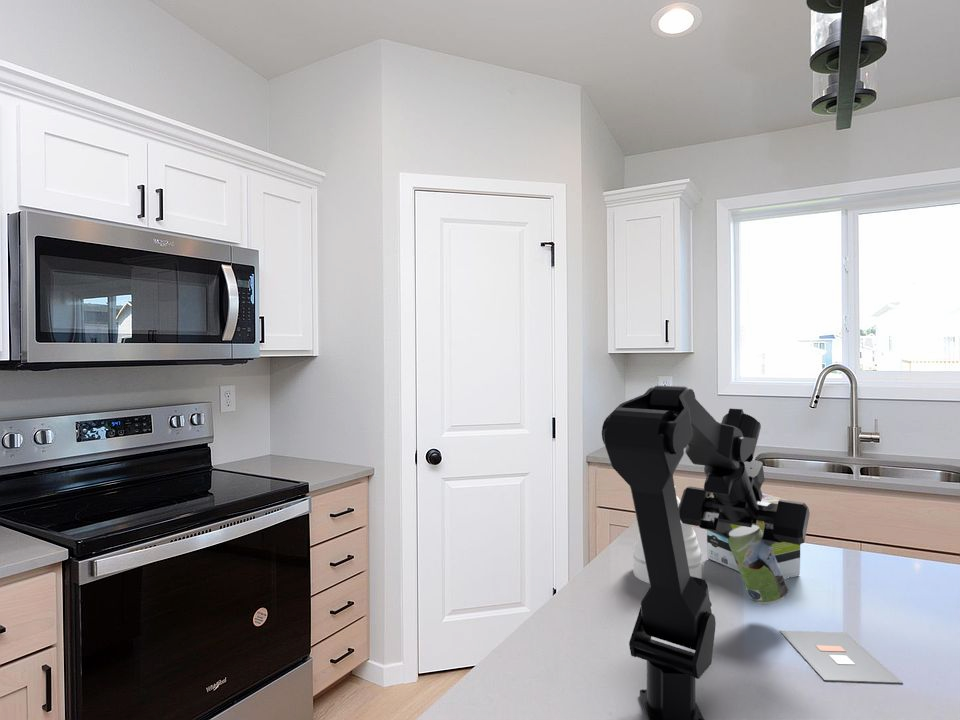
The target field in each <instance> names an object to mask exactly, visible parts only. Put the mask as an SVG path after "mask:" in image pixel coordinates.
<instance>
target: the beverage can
mask: <svg viewBox="0 0 960 720" xmlns="http://www.w3.org/2000/svg"><path fill="white" fill-rule="evenodd" d="M763 533H764V531H763V530H762V529H760V527H759V526H758V525H752V527H745V526H740V527H737V528H735V529H733V530H731V531H730V532H729V540H728V543H729V546H730V549H731V551H732V554H733V556H734V559H735V561H736V564H737V566H738V569H739V571H740V572H739V571H738V572H739V574H740V576H741V579H742V581H743V582H742V583H743V584H744V586H745V589H746V591H747V594H748V597H749V599H750V600H751V601H753V602H756V603H758V604H762V605H768V604H769V605H770V604H775V603H777V602H781V601H782V600H783V599H784V598H785V596H786V595H787V594H788V592H789V587H788V584H787V583H786V581H785V580H786V579H784V578H783V575H782V573H781V570H780V567H779V565H778V562H777V560H776V557H775V555H774V552H773V550H772V547H770V546H769V545H766V544H765V543H764V541H763V539H762V537H763Z"/></svg>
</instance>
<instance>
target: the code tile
mask: <svg viewBox="0 0 960 720" xmlns="http://www.w3.org/2000/svg"><path fill="white" fill-rule="evenodd" d="M779 633H781V634H782V637H784V638H785V640H787V641H788V642H789V643H790V645H791V646H792V647H793V648H794V649H795V650H796V652H798V653H799V654H800V656H801V657H802V658H803V659H804V660H805V661H806V662H807V664H808V665H809V666H811V668H812V669H813V670H814V671H815V672H816V673H817V675H818V676H819V677H820V678H821V679H822V680H823V681H824V682H846V683H872V684H873V683H875V684H902V685H903V684H904V682H903V681H902V680H901V679H900V678H899V677H897V676H896V675H895V674H894V673H893V672H892V671H891V670H890V669H888V668H887V667H886V666H885V665H884V664H882V663H881V662H880V661H879V660H878V659H877V658H876V657H875V656H873V655H872V654H871V653H870V652H869V651H868V650H866V648H864V647H863V646H862V645H861V644H860V643H858V642H857V641H856V640H855V639H854V638H853V637H852V636H851V635H850V634H848V632H840V631H839V632H838V631H837V632H836V631H835V632H834V631H809V630H808V631H804V630H803V631H802V630H779Z"/></svg>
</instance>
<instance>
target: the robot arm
mask: <svg viewBox="0 0 960 720" xmlns="http://www.w3.org/2000/svg"><path fill="white" fill-rule="evenodd" d="M761 426H762V425H761V422H760V421H758V420H757V419H756V418H755V417H753V416H751V415H749V414H747V413H744V410H743V409H742V408H729V409H728V413H725V415H724V416H723V417H722V420H721V422H719V421H717V420H716V419H715V418H714V417H713V416H712V415H711V414H710V412H709V411H707V409H706V408H705V407H704V406H703V405H702V404H701V403H700V402H699V401H698V400H697V397H696V395H695V392H694V389H692V388H688V387H687V386H681V385H679V386H678V385H677V386H675V385H655V386H654V387H653V386H652V387H649V388H648V389H647V390H646V391H645V393H643V394H642V395H639V396H637V397H634V398H631V399H629V400H626V401H624V402H622V403H620V404H619V405H618V406H617V407H616V408H614V409H613V410H612V412H611V413H609V415H607V416H606V418H605V419H604V421H603V424H602V428H601V439H602V441H603V445H604V447H605V451H606V453H607V456H608V459H609V462H610V466H611V467H612V468H613V470H615V472H616V473H617V474H618V475H619V476H620V477H621V478H622V479H623V480H624V481H625V483H627V484H628V485H629V489H630V492H631V497H632V502H633V507H634V512H635V517H636V521H637V522H636V523H637V527H638V534H639V533H640V538H641V543H642V548H643V553H644V558H645V563H646V568H647V573H648V578H649V583H650V584H649V583H648V584H649V587H648V589H647V591H646V592H645V594H644V595H643V597H642V599H641V600H640V607H639V611H638V615H637V618H636V621H635V623H634V627H633V629H632V634H631V636H630V639H629V642H628V645H629V651H630V656H631V657H633V658H639V659H642V660H644V661H646V689H640V690H639V697H640V701H641V704H642V705H643V709H644V712H645V716H646V719H647V720H705V718H704V716H703V714H702V712H701V710H700V708H699V705H698V704H697V701H696V679H697V680H699V679H700V678H701V676H703V674H704V673H705V672H706V670H708V668H709V667H710V666H711V664H712V663H713V661H712V660H713V651H714V644H715V634H716V626H717V625H716V622H717V621H716V617H715V615H714V614H713V613H712V608H711V607H712V602H711V600H710V593H709V592H710V590H709V585H708V583H707V581H706V580H705V579H704V578H702V579H701V578H696V577H692V576H690V573H689V567H688V561H687V556H686V550H685V544H684V538H683V533H682V527H681V522H682V523H683V524H689V525H692V526H694V527H695V526H696V527H699V528H700V529H702V530H703V529H704V530H706V531H707V530H708V531H711V532H713V533H716V534H718V535H720V536H722V537H724V538H727V539H729V532H730V531H731V530H733V529H732V527H731V525H730V524H734V525H740V526H745V527H752V525H756V523H757V520H758V521H764V525H765V528H764V533H763V537H762V539H763V541H764V543H765V544H766V545H769V546H770V547H771V546H772V544H774V543H776V542H777V543H782V542H786V543H792V544H797V545H800V546H801V545H802V544H804V543H805V542H806V535H807V531H808V523H809V520H810V509H809V507H808V506H807V504H806V503H805V502H800V501H794V500H791V501H787V500H788V499H787V500H779V501H778V504H774V503H771V504H769V505H768V506H762V505H758V504H757V502H758V501H759V502H761V500H762V496H763V495H762V493H763V492H762V486H763V483H764V482H765V471H764V465H763V462H762V461H760V460H755V459H754V456H755V452H756V448H757V443H758V440H759V436H760V433H761V429H762V427H761ZM684 449H685V450H684ZM684 452H685V455H687V457H688V459H689V460H690V462H691V463H692V464H693V465H697V466H704V468H703V471H704V475H705V481H704V484H703V487H696V486H688V487H686V488H685V489H684V490H683V491H682V495H681V498H680V504H679V507H678V504H677V498H676V496H677V494H676V488H675V486H676V485H675V482H674V473H675V471H676V469H677V468H678V467H679V466H678V465H679V464H680V462H681V460H682V458H683V457H684ZM711 493H713V495H714V497H709V496H710V494H711ZM707 497H708V498H707ZM680 520H681V521H680ZM652 638H655V639H652ZM656 639H659V640H662V641H665V642H668V643H671V644H674V645H677V646H680V647H684V648H687V649H690V650H692V651H694V652H692V651H690V650H686V649H683V648H680V647H677V646H674V645H671V644H667V643H664V642H662V641H659V640H656Z"/></svg>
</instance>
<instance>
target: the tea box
mask: <svg viewBox="0 0 960 720" xmlns="http://www.w3.org/2000/svg"><path fill="white" fill-rule="evenodd" d="M762 495H763V496H762V500H761V502H759V501H758V502H757V504H758V505H762V506H768V505H769V504H771V503H774V504H778V501H779V500H787V501H792V500H790V499H786V498H784V497H783V498H782V497H779V496H775V495H771V494H768V493H766V492H765V493H764V492H762ZM709 497H714V495H713V493H711V494H710V496H709ZM707 498H708V497H707ZM730 525H731V527H732V529H735V528H737V527H740V525H734V524H730ZM756 525H758V526H759V527H760V529H762V530H763V531H764V528H765V525H764V521H758V520H757V523H756ZM728 540H729V539H727V538H724V537H722V536H720V535H718V534H716V533H713V532H711V531H708V530H706V558H707V560H709V561H710V560H711V561H714V562H716V563H719V564H721V565H724V566H725V567H727V568H729V569H732V570H734V571H737V572H739V573H740V571H739V569H738V566H737V564H736V561H735V559H734V556H733V554H732V551H731V549H730V546H729V543H728ZM771 547H772V550H773V552H774V555H775V557H776V560H777V562H778V565H779V567H780V570H781V573H782V575H783V578H784V580H786V579H785V578H787V579H789V578H788V577H791V578H794V577H793V576H795V577H797V576H796V575H798V576H800V573H801V544H800V545H797V544H792V543H786V542H782V543H777V542H776V543H774V544H772V546H771Z"/></svg>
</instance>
